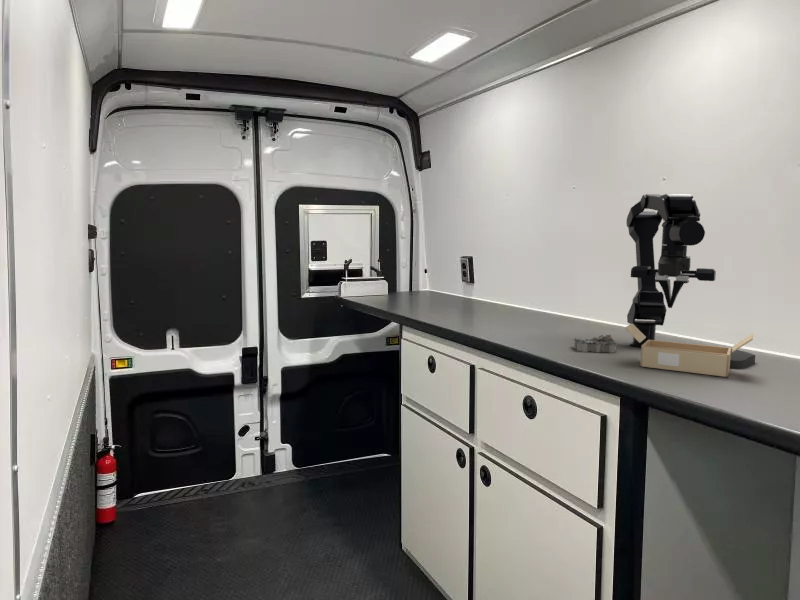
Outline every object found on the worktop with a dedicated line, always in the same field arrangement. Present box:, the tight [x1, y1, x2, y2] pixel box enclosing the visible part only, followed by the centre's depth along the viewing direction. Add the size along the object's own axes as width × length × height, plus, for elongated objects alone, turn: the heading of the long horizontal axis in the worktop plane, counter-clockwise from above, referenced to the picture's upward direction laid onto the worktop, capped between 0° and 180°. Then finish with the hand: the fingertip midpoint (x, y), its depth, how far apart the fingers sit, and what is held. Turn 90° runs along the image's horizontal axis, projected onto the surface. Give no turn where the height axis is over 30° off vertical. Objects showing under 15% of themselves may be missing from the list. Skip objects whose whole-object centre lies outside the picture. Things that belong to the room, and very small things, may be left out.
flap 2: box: [731, 333, 754, 352], centre depth 128 cm, size 8×1×5 cm
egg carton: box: [573, 334, 618, 354], centre depth 155 cm, size 11×8×4 cm
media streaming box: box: [730, 348, 756, 370], centre depth 143 cm, size 15×15×3 cm
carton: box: [639, 339, 732, 378], centre depth 134 cm, size 11×18×5 cm, turn 58°
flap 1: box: [624, 323, 646, 343], centre depth 140 cm, size 8×1×5 cm
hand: (670, 307), depth 143 cm, fingers closed
